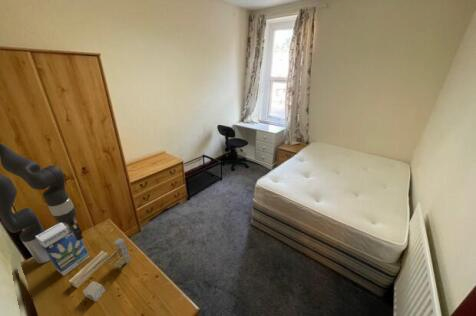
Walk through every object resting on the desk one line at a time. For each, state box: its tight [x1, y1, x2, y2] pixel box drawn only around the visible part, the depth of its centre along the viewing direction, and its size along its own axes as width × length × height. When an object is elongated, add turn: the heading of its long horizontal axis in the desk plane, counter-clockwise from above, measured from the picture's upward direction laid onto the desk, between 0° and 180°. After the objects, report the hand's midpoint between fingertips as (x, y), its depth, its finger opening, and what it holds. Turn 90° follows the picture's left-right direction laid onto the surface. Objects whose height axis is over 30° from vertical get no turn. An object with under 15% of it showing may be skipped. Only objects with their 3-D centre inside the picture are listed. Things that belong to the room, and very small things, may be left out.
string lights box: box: [35, 223, 91, 277], centre depth 103 cm, size 13×8×26 cm, turn 152°
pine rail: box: [68, 250, 110, 289], centre depth 104 cm, size 4×18×4 cm, turn 161°
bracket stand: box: [82, 237, 131, 302], centre depth 98 cm, size 7×22×16 cm, turn 161°
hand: (76, 235), depth 92 cm, fingers open, 8 cm apart
